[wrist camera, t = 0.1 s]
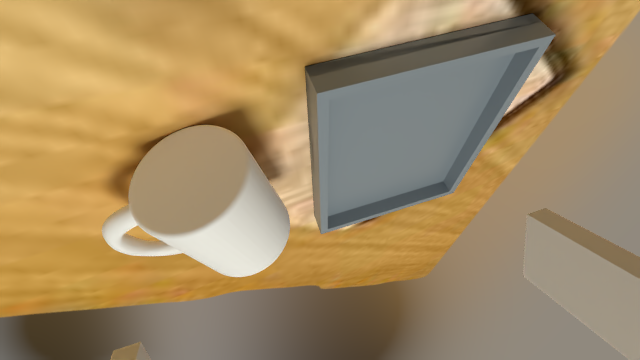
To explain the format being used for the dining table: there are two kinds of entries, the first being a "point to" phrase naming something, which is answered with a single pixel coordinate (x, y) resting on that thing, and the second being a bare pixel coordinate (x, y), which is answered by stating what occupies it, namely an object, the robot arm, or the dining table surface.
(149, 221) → the mug
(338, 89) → the tray
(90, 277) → the dining table surface
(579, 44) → the dining table surface
